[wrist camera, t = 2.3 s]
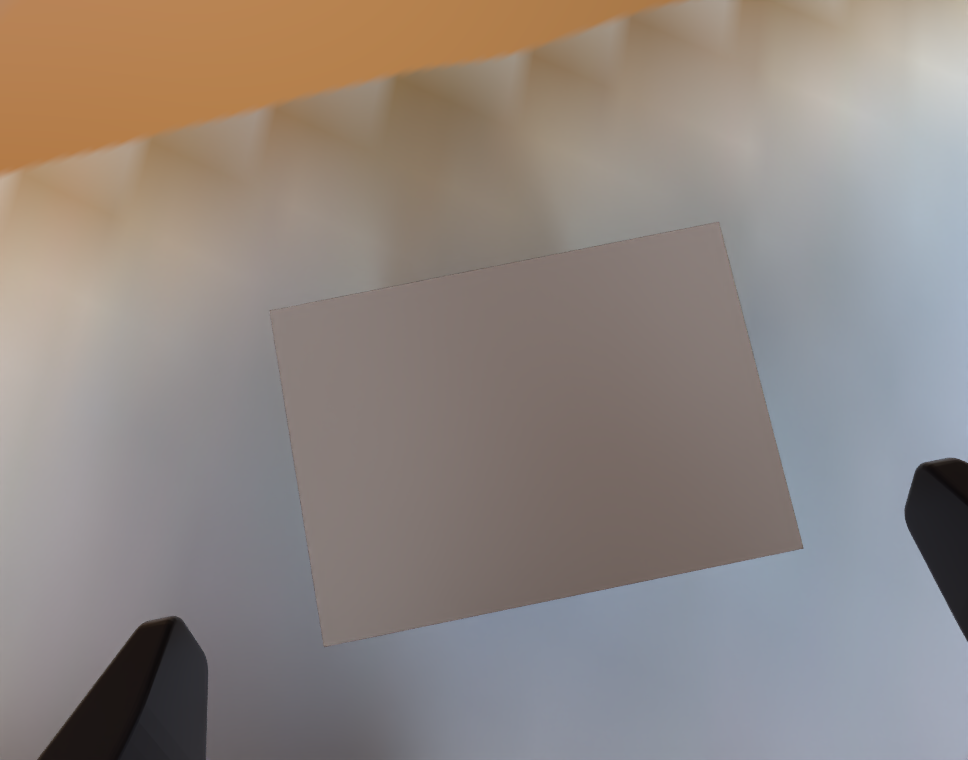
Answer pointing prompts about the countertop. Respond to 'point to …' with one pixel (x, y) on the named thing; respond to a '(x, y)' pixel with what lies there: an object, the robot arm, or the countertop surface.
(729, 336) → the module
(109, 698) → the robot arm
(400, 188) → the countertop surface
